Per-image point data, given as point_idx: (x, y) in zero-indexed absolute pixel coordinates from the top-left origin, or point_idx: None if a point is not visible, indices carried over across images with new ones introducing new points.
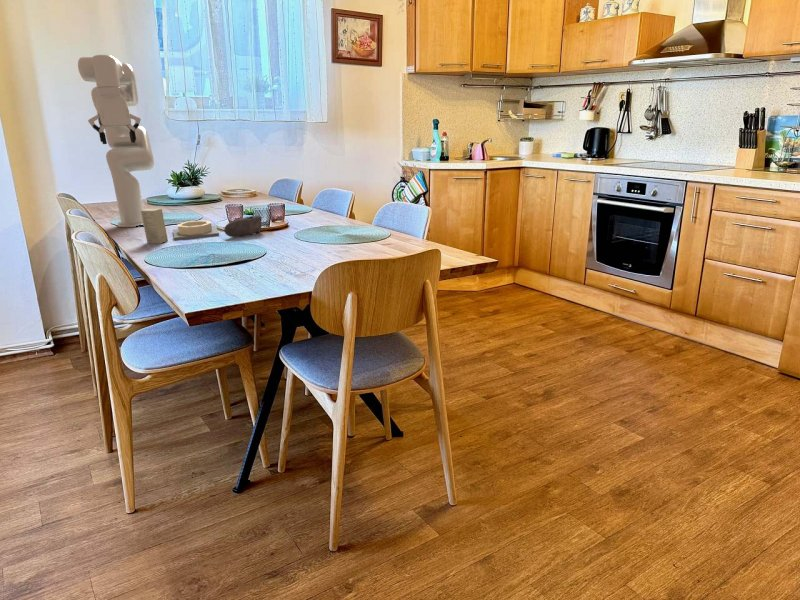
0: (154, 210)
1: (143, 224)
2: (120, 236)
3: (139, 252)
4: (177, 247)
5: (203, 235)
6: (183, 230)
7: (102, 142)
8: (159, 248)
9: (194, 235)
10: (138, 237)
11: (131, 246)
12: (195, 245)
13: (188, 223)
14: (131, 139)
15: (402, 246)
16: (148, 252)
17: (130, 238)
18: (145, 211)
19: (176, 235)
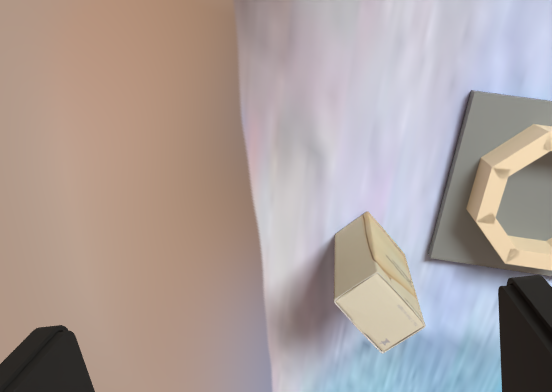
0: (386, 347)
1: (334, 269)
2: (256, 35)
3: (292, 347)
4: (406, 356)
5: (537, 272)
6: (484, 234)
7: (29, 338)
8: (355, 335)
9: (505, 268)
10: (320, 109)
11: (279, 253)
12: (462, 364)
13: (546, 150)
14: (519, 374)
15: None
16: (316, 363)
17: (289, 109)
18: (351, 319)
19: (449, 225)
